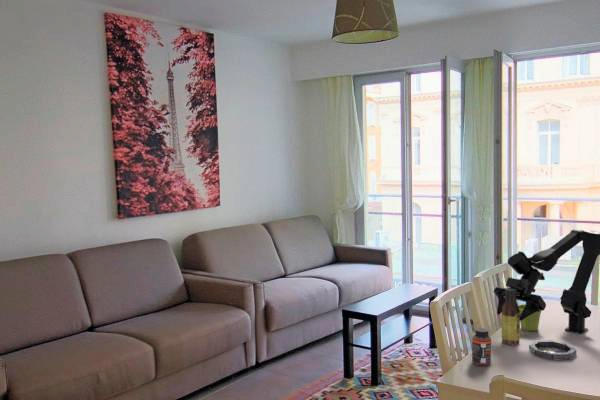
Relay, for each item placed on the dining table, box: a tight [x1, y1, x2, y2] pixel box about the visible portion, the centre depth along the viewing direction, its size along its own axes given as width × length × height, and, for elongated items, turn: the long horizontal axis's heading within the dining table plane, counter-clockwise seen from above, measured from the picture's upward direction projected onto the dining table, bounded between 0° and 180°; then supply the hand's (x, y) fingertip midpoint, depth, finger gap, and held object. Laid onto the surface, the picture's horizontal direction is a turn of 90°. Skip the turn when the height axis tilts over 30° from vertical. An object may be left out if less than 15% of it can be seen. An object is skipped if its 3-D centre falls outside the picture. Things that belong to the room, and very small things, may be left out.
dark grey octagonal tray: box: [528, 339, 577, 361], centre depth 200 cm, size 14×14×2 cm
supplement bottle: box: [471, 327, 492, 367], centre depth 192 cm, size 6×6×11 cm
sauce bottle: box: [501, 287, 521, 346], centre depth 210 cm, size 7×6×20 cm
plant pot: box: [518, 303, 542, 332], centre depth 226 cm, size 9×9×9 cm
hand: (508, 317), depth 209 cm, fingers open, 9 cm apart
